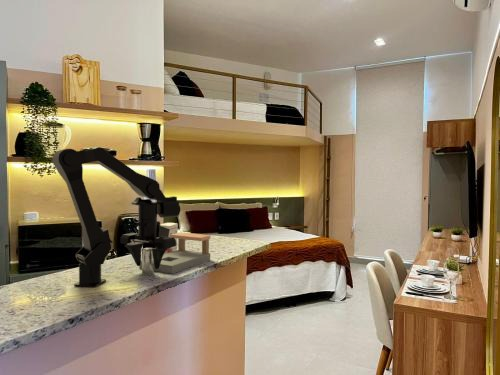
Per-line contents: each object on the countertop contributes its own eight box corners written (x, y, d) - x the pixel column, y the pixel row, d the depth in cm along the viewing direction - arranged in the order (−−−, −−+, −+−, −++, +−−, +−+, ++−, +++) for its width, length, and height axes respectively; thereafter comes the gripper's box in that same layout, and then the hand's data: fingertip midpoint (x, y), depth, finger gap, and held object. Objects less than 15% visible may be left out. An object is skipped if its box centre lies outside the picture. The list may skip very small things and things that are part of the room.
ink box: (169, 255, 146) (169, 225, 145) (157, 255, 147) (157, 225, 146) (178, 251, 154) (178, 222, 154) (166, 250, 155) (166, 222, 155)
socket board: (172, 273, 120) (172, 245, 119) (139, 268, 126) (139, 241, 126) (210, 260, 139) (210, 235, 139) (180, 255, 146) (180, 232, 145)
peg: (151, 275, 117) (151, 250, 117) (140, 275, 118) (140, 249, 117) (155, 272, 121) (155, 247, 121) (144, 272, 121) (144, 247, 121)
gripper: (186, 218, 122) (186, 265, 122) (143, 214, 130) (143, 259, 131) (164, 221, 112) (164, 273, 112) (119, 217, 120) (119, 265, 121)
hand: (147, 267), depth 119 cm, fingers open, 7 cm apart
